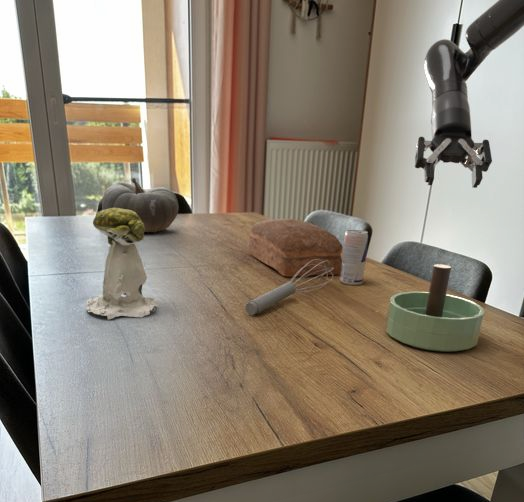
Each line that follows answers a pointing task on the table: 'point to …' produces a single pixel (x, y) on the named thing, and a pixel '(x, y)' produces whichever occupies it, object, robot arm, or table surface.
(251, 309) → the kitchen whisk
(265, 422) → the table surface
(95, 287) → the table surface
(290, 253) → the bread
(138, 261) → the mushroom
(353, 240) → the energy drink
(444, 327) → the bowl
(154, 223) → the gourd
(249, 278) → the table surface
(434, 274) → the pestle
